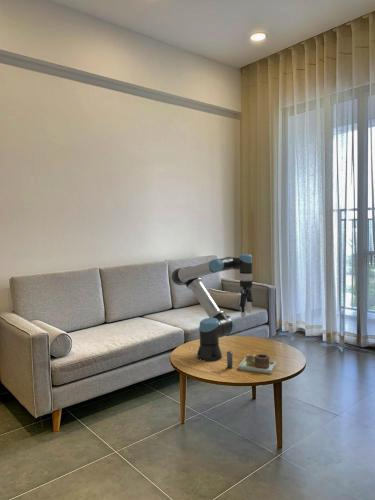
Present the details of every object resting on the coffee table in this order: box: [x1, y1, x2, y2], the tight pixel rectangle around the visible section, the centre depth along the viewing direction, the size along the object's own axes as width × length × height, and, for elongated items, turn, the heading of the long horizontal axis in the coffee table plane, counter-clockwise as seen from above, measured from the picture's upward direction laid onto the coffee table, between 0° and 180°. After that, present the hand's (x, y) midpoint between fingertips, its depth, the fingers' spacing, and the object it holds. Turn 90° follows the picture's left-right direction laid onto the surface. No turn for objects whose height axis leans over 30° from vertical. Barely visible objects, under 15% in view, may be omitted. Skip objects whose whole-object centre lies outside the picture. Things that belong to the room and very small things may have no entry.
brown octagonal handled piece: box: [245, 353, 270, 369], centre depth 218 cm, size 12×8×6 cm, turn 67°
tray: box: [237, 357, 277, 375], centre depth 218 cm, size 18×14×2 cm
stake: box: [226, 350, 234, 369], centre depth 218 cm, size 3×3×9 cm
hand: (246, 314), depth 231 cm, fingers open, 13 cm apart
